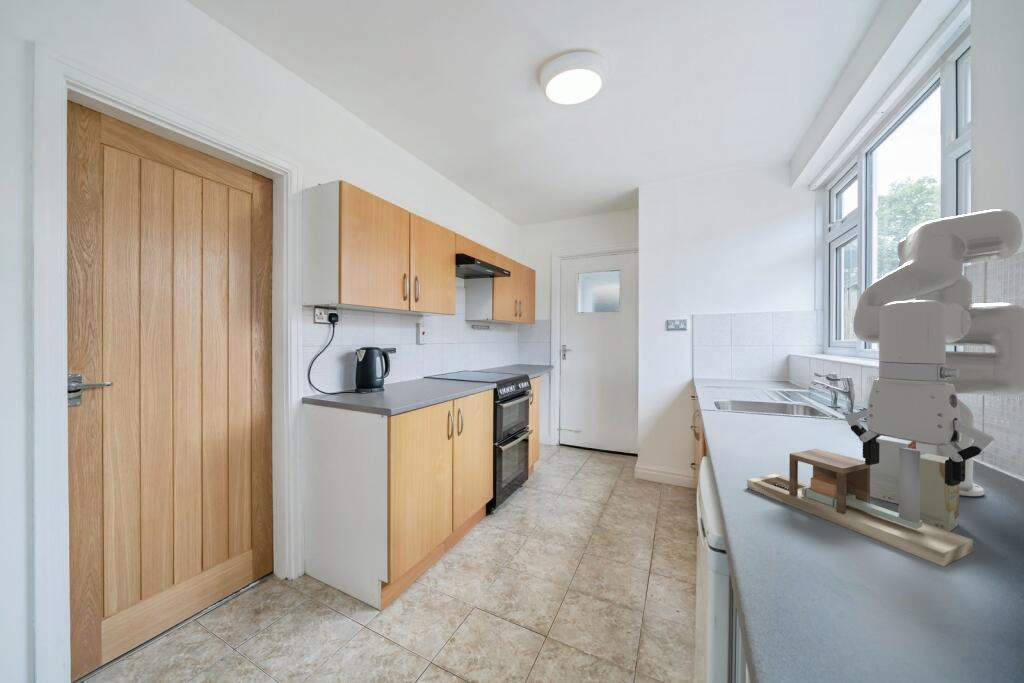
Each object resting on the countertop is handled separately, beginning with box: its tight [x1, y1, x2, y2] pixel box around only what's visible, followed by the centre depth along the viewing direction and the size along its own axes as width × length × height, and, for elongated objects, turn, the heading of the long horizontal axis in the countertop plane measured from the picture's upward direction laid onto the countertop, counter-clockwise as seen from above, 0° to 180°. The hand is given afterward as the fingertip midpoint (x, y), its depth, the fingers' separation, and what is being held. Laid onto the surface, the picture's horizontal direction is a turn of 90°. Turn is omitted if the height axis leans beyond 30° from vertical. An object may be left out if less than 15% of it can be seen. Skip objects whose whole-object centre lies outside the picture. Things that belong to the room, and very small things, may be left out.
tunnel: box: [788, 448, 871, 514], centre depth 71 cm, size 9×9×8 cm
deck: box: [746, 473, 974, 567], centre depth 69 cm, size 10×30×2 cm, turn 22°
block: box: [810, 475, 837, 501], centre depth 71 cm, size 4×4×4 cm
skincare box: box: [920, 454, 960, 532], centre depth 66 cm, size 6×4×12 cm
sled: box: [802, 448, 922, 529], centre depth 66 cm, size 6×16×13 cm, turn 22°
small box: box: [870, 435, 916, 505], centre depth 77 cm, size 8×6×13 cm
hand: (909, 473), depth 60 cm, fingers open, 9 cm apart
